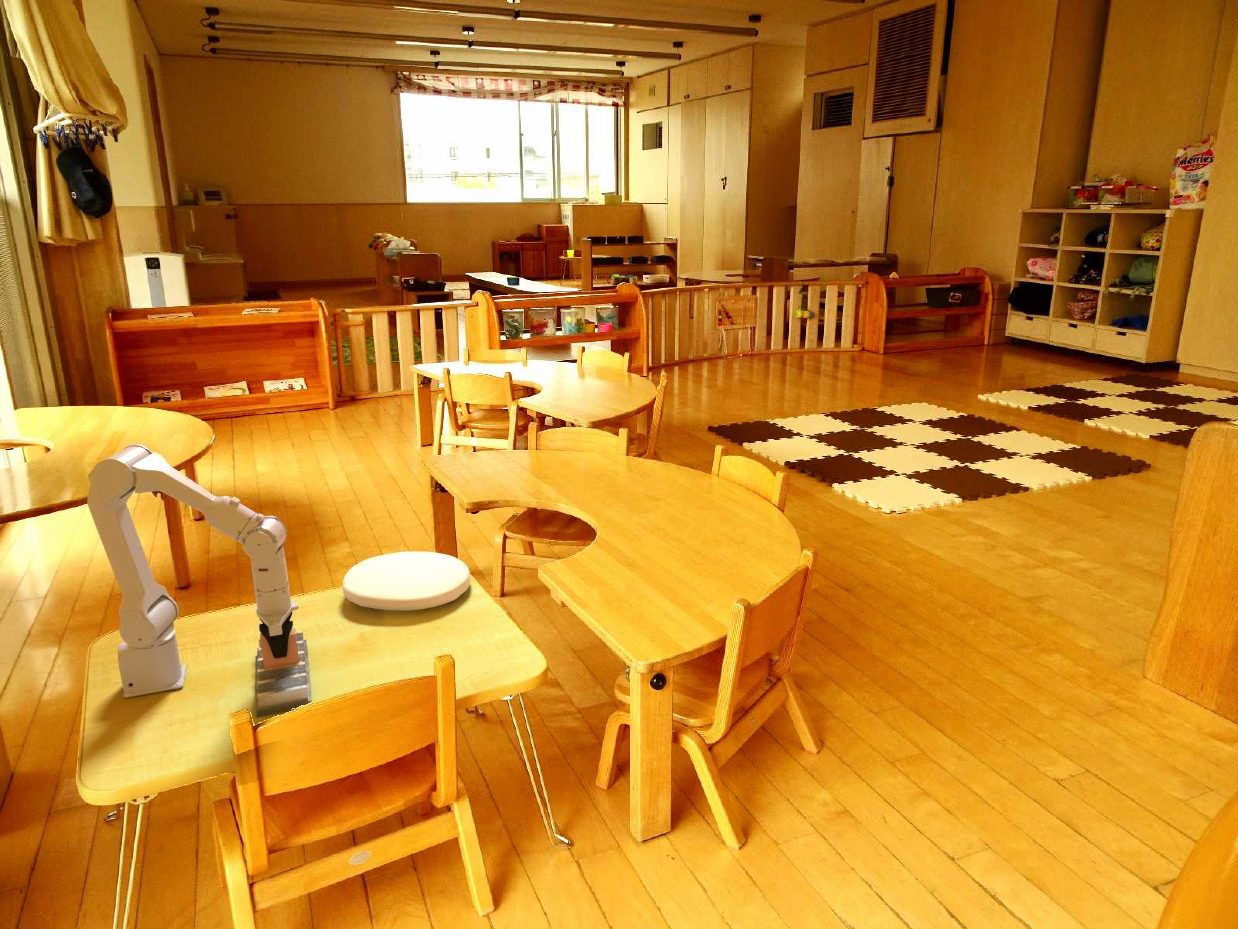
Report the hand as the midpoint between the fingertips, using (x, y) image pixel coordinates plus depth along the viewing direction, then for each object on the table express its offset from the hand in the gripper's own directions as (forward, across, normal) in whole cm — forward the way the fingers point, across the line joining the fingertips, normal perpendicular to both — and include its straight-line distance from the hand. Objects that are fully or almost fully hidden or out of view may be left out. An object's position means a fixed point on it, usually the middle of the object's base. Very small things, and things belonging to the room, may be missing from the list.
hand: (280, 653), depth 155 cm
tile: (+4, 0, 0) cm, 4 cm away
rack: (+5, 0, 0) cm, 5 cm away
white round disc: (+6, +29, -27) cm, 40 cm away
